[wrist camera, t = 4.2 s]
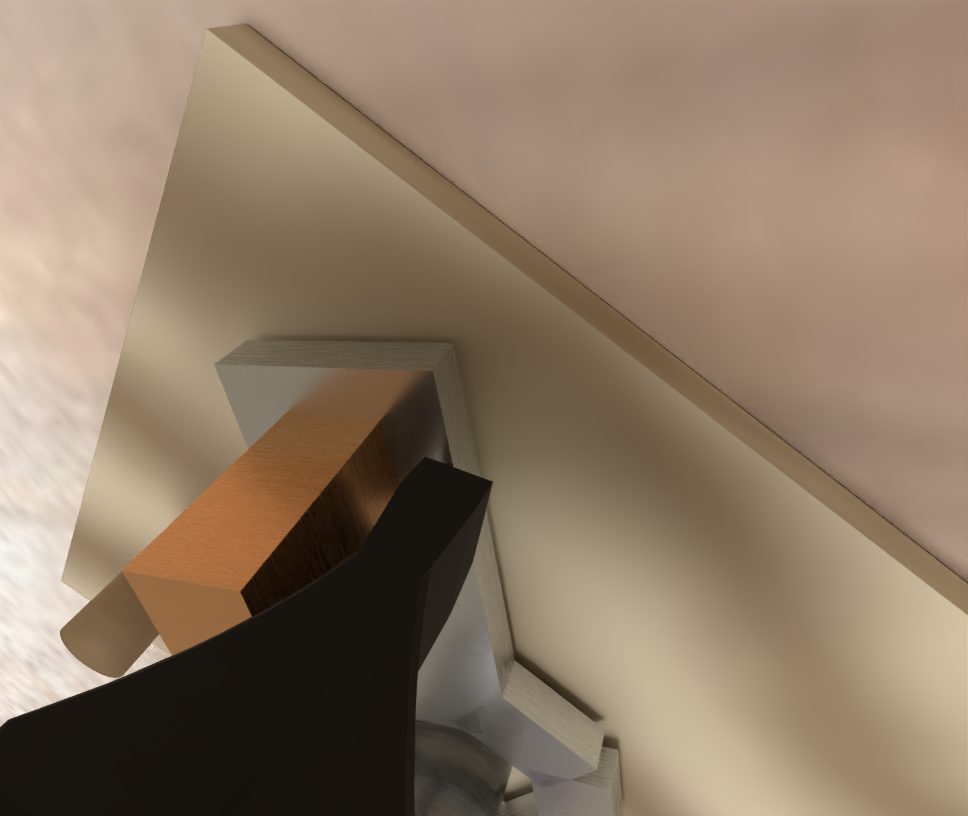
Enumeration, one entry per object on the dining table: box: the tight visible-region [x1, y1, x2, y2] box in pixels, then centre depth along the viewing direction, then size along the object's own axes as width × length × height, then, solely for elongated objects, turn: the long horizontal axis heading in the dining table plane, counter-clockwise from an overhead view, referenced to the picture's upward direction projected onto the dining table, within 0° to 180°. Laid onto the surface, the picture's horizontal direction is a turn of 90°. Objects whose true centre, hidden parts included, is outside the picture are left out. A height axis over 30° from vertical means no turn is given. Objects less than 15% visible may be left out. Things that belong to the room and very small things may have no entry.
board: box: [61, 24, 968, 816], centre depth 17 cm, size 19×23×1 cm
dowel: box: [60, 571, 159, 678], centre depth 16 cm, size 2×2×4 cm
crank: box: [122, 340, 623, 816], centre depth 14 cm, size 17×9×5 cm, turn 10°
